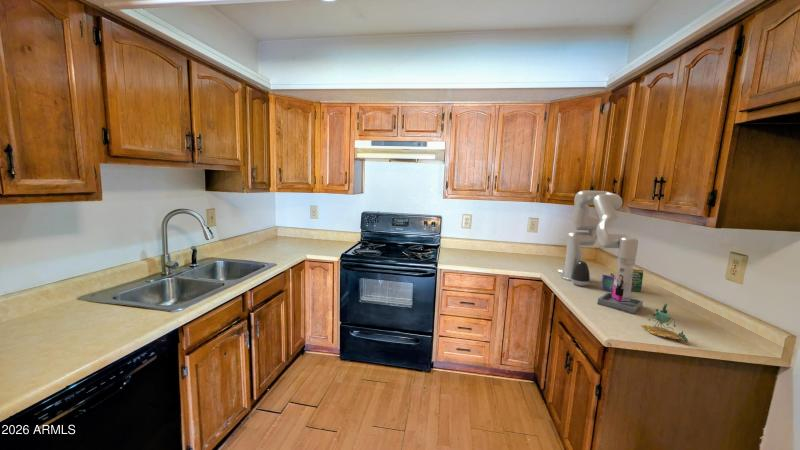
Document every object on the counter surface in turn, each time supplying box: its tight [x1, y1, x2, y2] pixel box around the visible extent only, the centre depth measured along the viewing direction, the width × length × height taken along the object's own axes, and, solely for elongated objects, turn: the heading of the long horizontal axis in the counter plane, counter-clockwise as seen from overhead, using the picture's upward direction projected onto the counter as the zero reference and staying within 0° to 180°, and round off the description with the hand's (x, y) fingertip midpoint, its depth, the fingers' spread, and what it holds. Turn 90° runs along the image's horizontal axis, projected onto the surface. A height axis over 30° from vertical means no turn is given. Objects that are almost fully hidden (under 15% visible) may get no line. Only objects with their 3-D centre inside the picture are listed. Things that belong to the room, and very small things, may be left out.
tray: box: [597, 291, 644, 315], centre depth 162 cm, size 16×16×3 cm
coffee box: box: [631, 268, 644, 293], centre depth 185 cm, size 8×3×13 cm, turn 66°
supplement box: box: [612, 276, 632, 302], centre depth 161 cm, size 6×6×12 cm
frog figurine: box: [641, 303, 691, 346], centre depth 131 cm, size 10×18×15 cm, turn 13°
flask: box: [600, 272, 617, 293], centre depth 182 cm, size 10×3×12 cm, turn 24°
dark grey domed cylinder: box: [571, 260, 591, 287], centre depth 193 cm, size 10×10×15 cm
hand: (621, 293), depth 161 cm, fingers closed on supplement box, 8 cm apart
